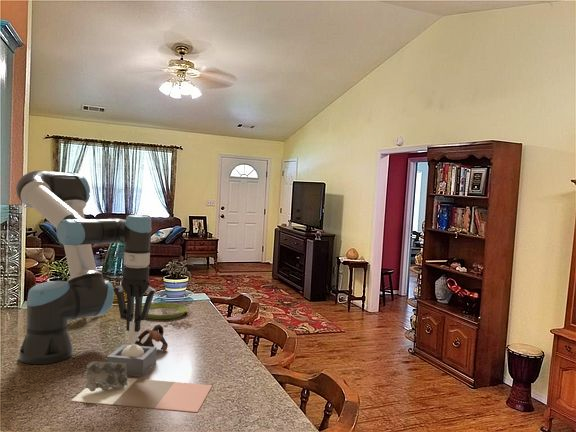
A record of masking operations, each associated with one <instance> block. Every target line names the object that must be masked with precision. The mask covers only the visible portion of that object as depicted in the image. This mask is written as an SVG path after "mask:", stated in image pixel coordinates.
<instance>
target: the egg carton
mask: <svg viewBox="0 0 576 432" xmlns="http://www.w3.org/2000/svg"><path fill="white" fill-rule="evenodd" d="M86 365H87V366H86V367H87V368H86V371H85V372H84V377H85V379H86V380H87V381H86V382H85V385H84V389H85V388H88V389H89V390H90V391H92V392H93V391H95V390H96V388H101V389H102V390H103V391H107V390H108V389H109V388H114V389H116V390H118V389H120V388H121V387H124V386H125V385H127V378H128V375H127V370H126V363H112V362H107V361H97V360H93V361H91V362H89V363H88V364H86Z"/></svg>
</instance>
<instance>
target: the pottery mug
mask: <svg viewBox="0 0 576 432" xmlns="http://www.w3.org/2000/svg"><path fill="white" fill-rule="evenodd" d="M145 336H147V338H146V340H145V341H144V342H143V343H142V340H143V338H145ZM153 340H154V341H155V342H158V343H159V342H161V343H162V345H161V347H160V350H161V351H162V352H163V353H165V352H166V351H167V350H168V343H167V341H166V339H165V338H164V327H163V325H161V324H157V325H154V327H153V328H152V329H150V328H149V329H146V330H144V331H142V332H141V333H140V335H138V336H137V341H135V342H134V344H135V345H139V346H148V347H155V344H154V343H153Z"/></svg>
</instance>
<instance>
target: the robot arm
mask: <svg viewBox="0 0 576 432" xmlns="http://www.w3.org/2000/svg"><path fill="white" fill-rule="evenodd" d="M15 187H16V188H15V190H16V191H15V192H16V196H17V198H18V199H19V200H20V202H22V204H24V205H25V206H26V207H29V208H33V209H34V210H35V211H36V212H38V213H39V214H40V215H41V216H42V217H43V218H45V219H46V221H48V222H49V223H50V224H51V225H52V226H53V227H54V228H55V229H56V237H57V239H58V242H59V243H60V244H61V245H63V248H64V252H65V258H66V262H67V267H68V271H69V276H70V277H69V278H68V279H67V280H51V281H46V282H42V283H39V284H36V285H33V286H32V287H30V288H29V290H28V293H27V300H26V334H25V337H24V339H23V342H22V344H21V346H20V350H19V353H18V355H19V356H18V359H19V361H20V362H21V363H24V364H29V365H47V364H55V363H58V362H61V361H62V362H63V361H64V360H67V359H68V358H70V357H71V356H73V354H74V353H73V352H74V351H73V350H74V349H73V348H74V347H73V344H72V340H71V338H70V334H69V330H68V325H69V324H68V321H69V320H71V321H72V320H77V319H79V320H80V319H84V317H87V318H89V317H96V316H98V315H103V314H105V313H107V312H109V310H110V309H111V308H112V305H113V303H114V299H115V295H116V298H117V299H116V300H117V305H118V310H119V315H120V318H121V319H122V320H123V319H124V320H126V326H125V327H126V332H128V344H135V342H136V341H138V333H139V332H140V330H141V324H142V323H141V322H142V321H144V320H145V319H148V318H147V316H148V314H149V313H150V310H151V309H150V306H151V304H152V302H153V298H154V296H155V295H156V293H157V292H158V291H157V289H156V288H153V287H152V286H151V284H150V281H149V279H150V267H149V265H150V263H151V262H150V260H151V259H150V258H151V257H150V256H151V243H152V242H151V241H152V230H153V228H152V217H150V216H148V215H143V214H141V215H140V214H129V215H128V214H127V216H126V218H125V219H122V218H119V217H109V218H100V219H99V218H96V219H95V218H90V219H89V218H86V217H85V214H84V209H85V207H86V206H87V203H88V201H89V200H90V193H91V188H90V185H89V181H88V180H87V179H86V178H85V176H84V175H82V174H80V173H75V172H69V171H68V172H63V171H53V170H52V171H50V170H48V171H47V170H32V171H30V172H27V173H25V174H24V175H23V176H22V177H20V179H18V181H17V183H16V186H15ZM97 244H98V245H99V244H122V245H124V248H123V249H124V250H123V251H124V252H123V254H124V255H123V265H124V266H123V269H122V281H121V283H120V284H119V285H117V286H115V287H114V286H113V283H111V280H108V279H104V275H103V273H102V272H101V271H98V269H97V266H96V261H95V257H94V252H93V248H92V245H97ZM124 292H125V293H126V297H125V294H124ZM145 293H147V296H146V299H145V301H144V305H143V297H144V295H145ZM142 306H144V308H143V311H142ZM149 309H150V310H149Z"/></svg>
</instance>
